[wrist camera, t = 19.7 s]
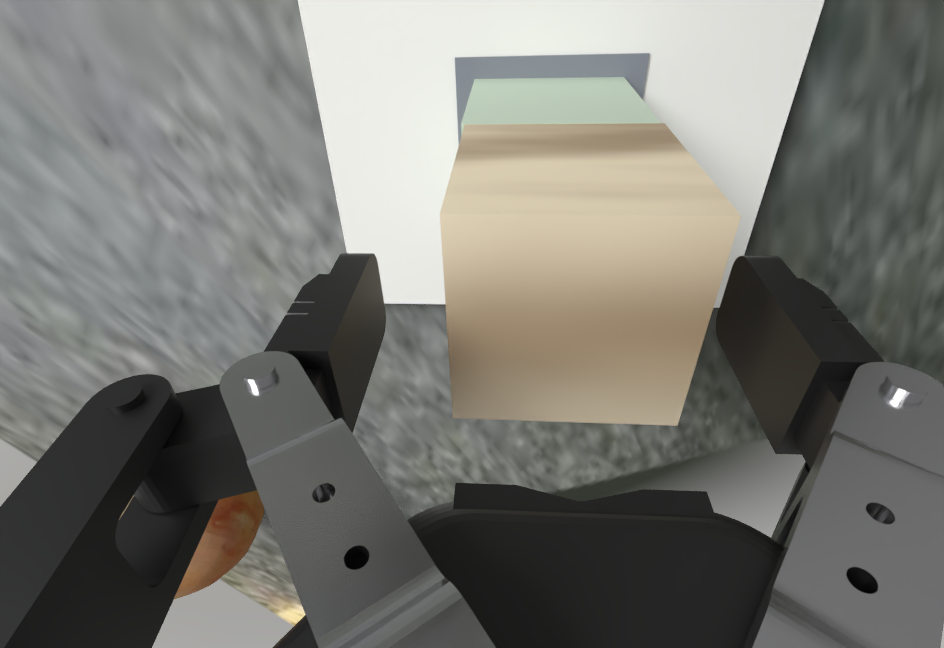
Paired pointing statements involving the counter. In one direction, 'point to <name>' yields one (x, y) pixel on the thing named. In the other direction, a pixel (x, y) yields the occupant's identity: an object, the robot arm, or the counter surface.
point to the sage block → (555, 102)
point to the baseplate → (536, 56)
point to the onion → (223, 541)
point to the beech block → (579, 271)
